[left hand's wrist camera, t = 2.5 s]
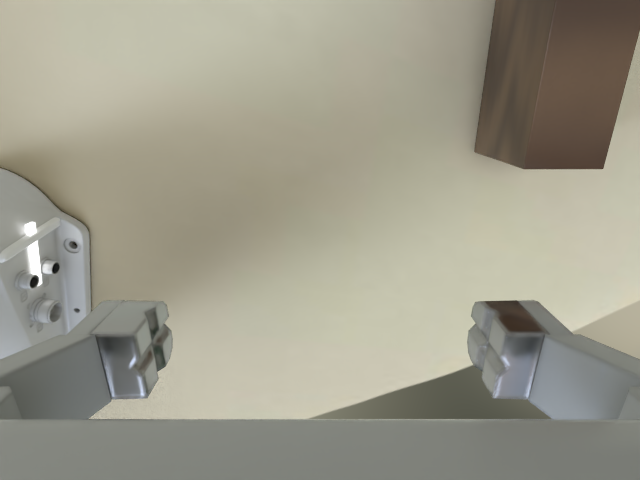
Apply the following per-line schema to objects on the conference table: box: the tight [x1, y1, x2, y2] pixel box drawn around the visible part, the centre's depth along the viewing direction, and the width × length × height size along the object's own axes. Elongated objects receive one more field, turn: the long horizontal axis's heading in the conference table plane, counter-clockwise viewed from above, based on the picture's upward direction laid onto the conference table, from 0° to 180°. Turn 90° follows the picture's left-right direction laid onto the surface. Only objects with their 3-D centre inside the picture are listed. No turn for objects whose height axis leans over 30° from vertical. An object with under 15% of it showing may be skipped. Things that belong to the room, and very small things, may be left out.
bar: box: [475, 0, 640, 169], centre depth 28 cm, size 23×6×10 cm, turn 0°
